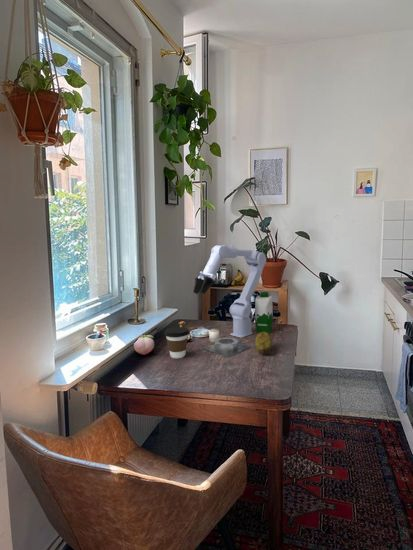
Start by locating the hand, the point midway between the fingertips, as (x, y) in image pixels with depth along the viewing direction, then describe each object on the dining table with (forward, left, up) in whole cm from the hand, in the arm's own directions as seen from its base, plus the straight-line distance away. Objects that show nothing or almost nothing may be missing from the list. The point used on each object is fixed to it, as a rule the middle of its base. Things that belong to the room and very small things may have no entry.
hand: (198, 292), depth 187 cm
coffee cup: (+14, 0, -26) cm, 30 cm away
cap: (-12, -3, -26) cm, 29 cm away
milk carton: (-40, +6, -26) cm, 48 cm away
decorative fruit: (+23, -13, -26) cm, 37 cm away
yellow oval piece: (-15, +25, -26) cm, 40 cm away
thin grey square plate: (-7, +10, -26) cm, 29 cm away
